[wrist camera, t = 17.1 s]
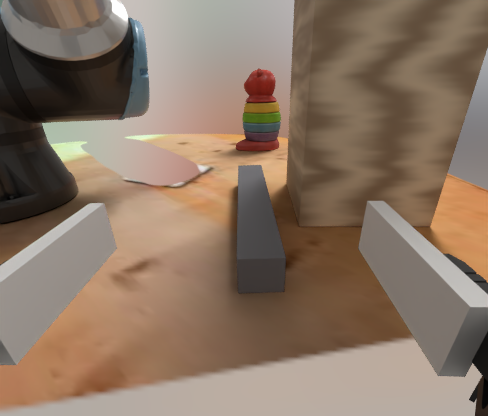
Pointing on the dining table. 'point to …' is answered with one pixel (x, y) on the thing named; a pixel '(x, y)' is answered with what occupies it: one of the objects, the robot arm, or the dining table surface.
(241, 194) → the bar
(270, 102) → the stacking bear
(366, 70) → the tall wooden block
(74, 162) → the dining table surface
